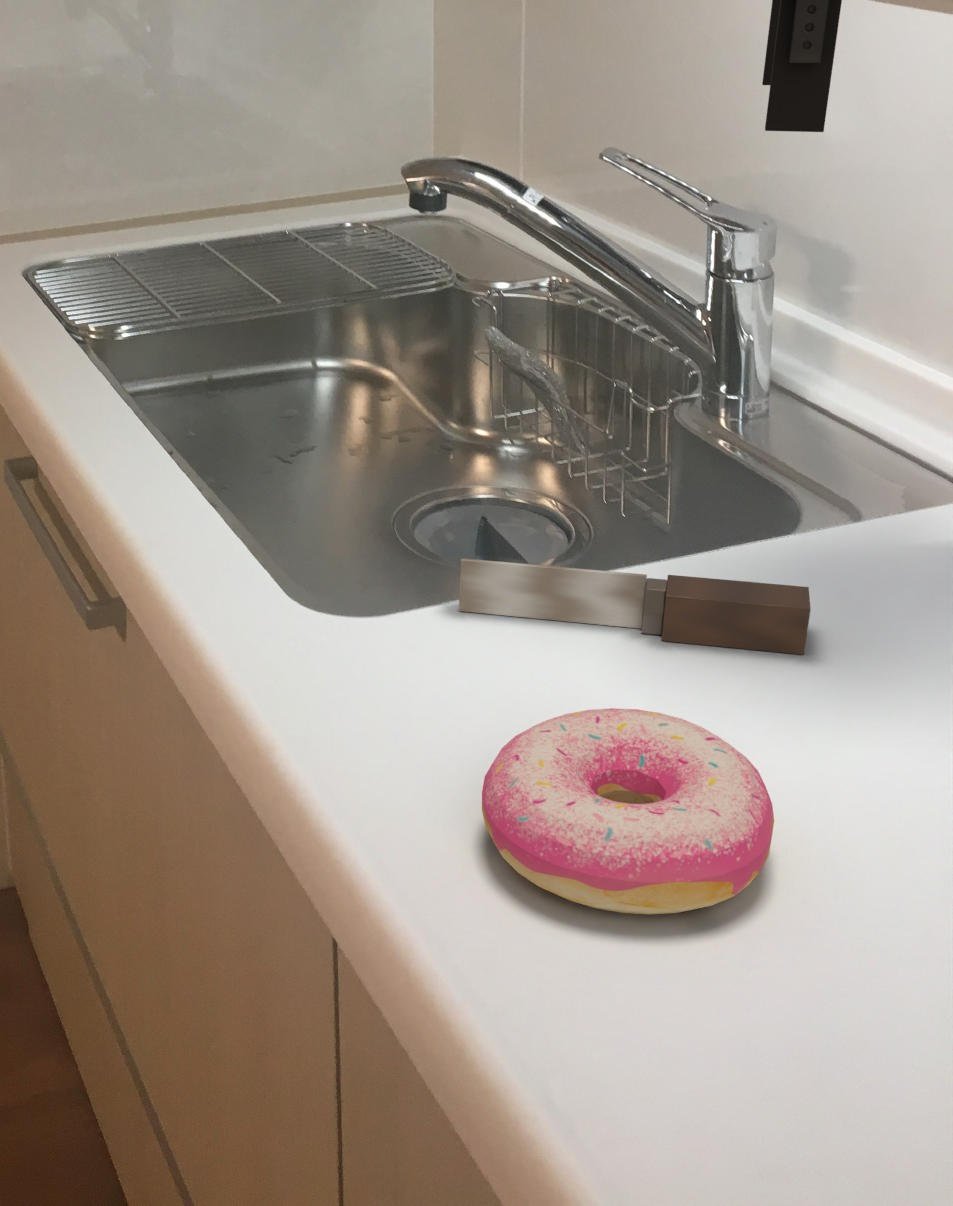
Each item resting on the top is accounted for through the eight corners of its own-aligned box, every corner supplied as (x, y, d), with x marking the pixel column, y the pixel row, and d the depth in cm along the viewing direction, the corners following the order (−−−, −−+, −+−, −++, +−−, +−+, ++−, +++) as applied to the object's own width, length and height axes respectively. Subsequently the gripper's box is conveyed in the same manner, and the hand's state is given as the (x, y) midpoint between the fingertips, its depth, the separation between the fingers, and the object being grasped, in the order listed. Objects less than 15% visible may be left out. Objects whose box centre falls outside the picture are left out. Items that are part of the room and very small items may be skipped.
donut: (521, 950, 72) (527, 856, 70) (449, 787, 84) (452, 702, 82) (817, 923, 73) (833, 830, 71) (704, 766, 85) (714, 681, 83)
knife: (802, 631, 98) (810, 578, 97) (804, 654, 96) (811, 601, 94) (462, 599, 104) (464, 549, 102) (455, 620, 101) (457, 569, 100)
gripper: (763, -341, 89) (719, 67, 98) (770, -374, 68) (712, 151, 77) (913, -348, 87) (853, 69, 96) (968, -385, 66) (884, 155, 75)
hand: (790, 106), depth 87 cm, fingers open, 13 cm apart
